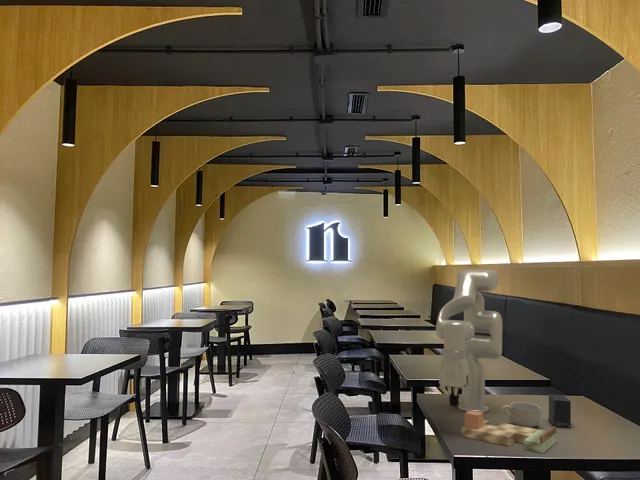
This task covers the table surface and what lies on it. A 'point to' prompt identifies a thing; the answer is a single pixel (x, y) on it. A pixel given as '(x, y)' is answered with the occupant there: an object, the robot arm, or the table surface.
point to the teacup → (523, 414)
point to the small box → (559, 411)
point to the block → (474, 420)
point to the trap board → (513, 436)
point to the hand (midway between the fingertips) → (454, 405)
